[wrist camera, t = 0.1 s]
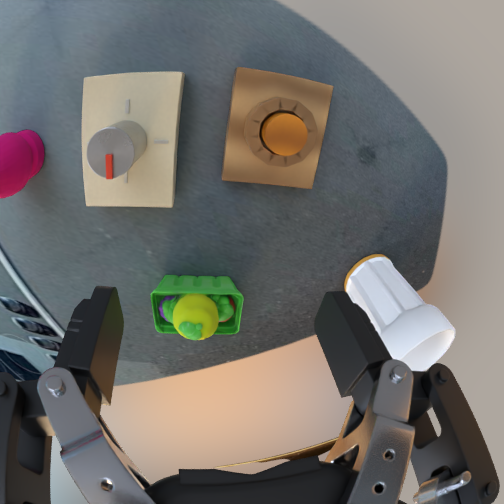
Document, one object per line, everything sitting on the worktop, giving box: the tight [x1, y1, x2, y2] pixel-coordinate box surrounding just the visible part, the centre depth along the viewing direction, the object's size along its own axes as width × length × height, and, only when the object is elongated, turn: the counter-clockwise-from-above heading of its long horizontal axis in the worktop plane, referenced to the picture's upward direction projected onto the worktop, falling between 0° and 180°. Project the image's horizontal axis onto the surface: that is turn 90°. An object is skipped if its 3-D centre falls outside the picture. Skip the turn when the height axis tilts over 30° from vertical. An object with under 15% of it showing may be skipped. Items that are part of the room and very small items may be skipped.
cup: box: [344, 254, 455, 371], centre depth 35 cm, size 11×11×17 cm
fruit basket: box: [151, 275, 244, 340], centre depth 33 cm, size 11×9×11 cm
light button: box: [262, 113, 308, 156], centre depth 24 cm, size 4×4×2 cm
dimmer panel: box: [82, 72, 185, 207], centre depth 24 cm, size 14×10×3 cm
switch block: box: [221, 67, 333, 189], centre depth 26 cm, size 12×10×4 cm
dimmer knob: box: [87, 120, 147, 179], centre depth 21 cm, size 4×4×5 cm
